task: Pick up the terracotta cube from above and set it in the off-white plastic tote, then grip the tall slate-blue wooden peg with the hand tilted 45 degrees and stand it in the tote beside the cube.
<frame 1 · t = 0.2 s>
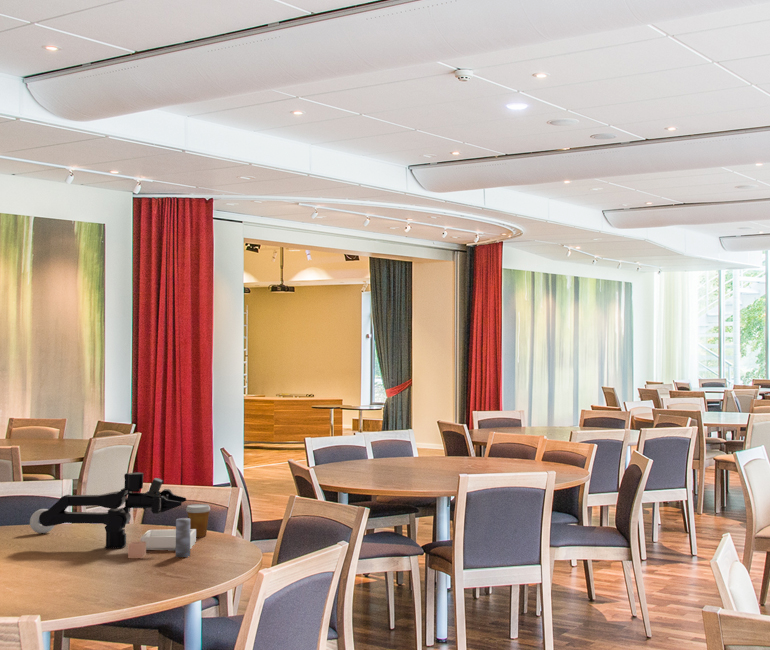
hand: (183, 501, 318), 17 cm above the table, tool horizontal, fingers open, 9 cm apart
tote: (168, 546, 316), on the table
terracotta cube: (137, 557, 299), on the table
disposable coffee cup: (198, 536, 336), on the table
donut: (42, 534, 342), on the table
slate peg: (182, 556, 300), on the table
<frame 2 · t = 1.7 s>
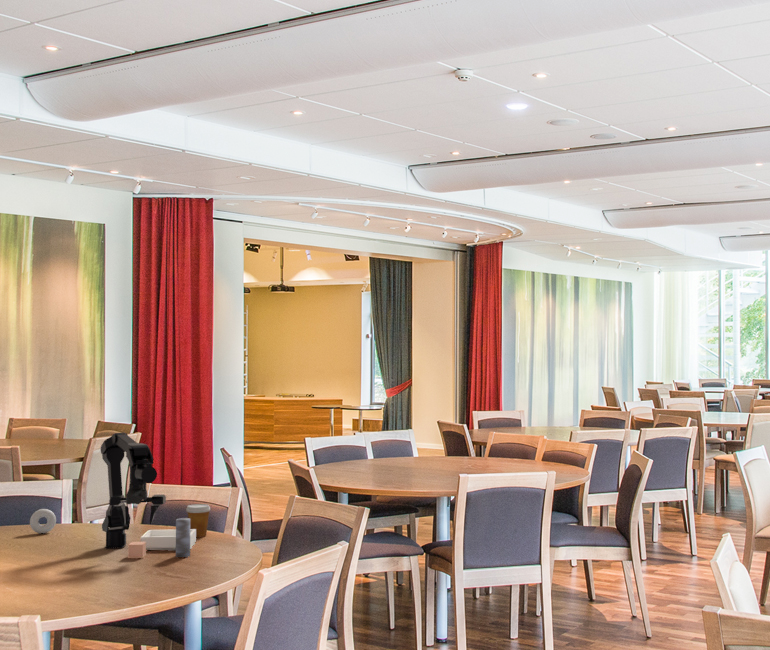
hand: (137, 524, 300), 11 cm above the table, tool pointing down, fingers open, 9 cm apart
nothing on the table moved.
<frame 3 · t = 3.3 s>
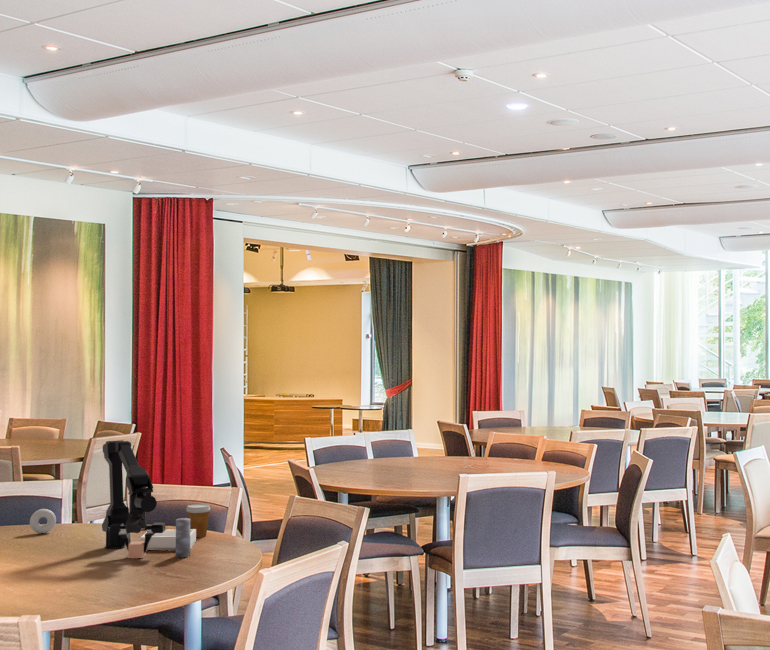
hand: (137, 552, 299), 2 cm above the table, tool pointing down, fingers closed on terracotta cube, 5 cm apart
terracotta cube: (137, 557, 299), on the table, touching gripper
everything else where it was.
when the fingers open (5 cm above the table, at t = 7.1 s): terracotta cube drops 3 cm, resting on tote.
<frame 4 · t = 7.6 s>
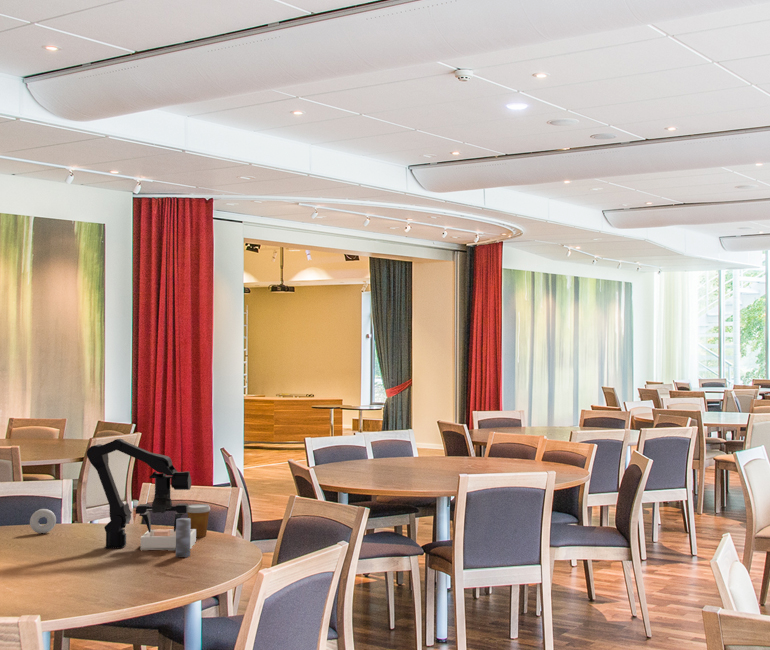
hand: (162, 531, 317), 5 cm above the table, tool pointing down, fingers open, 9 cm apart
terracotta cube: (162, 543, 316), point 1 cm above the table, touching tote
everything else where it was.
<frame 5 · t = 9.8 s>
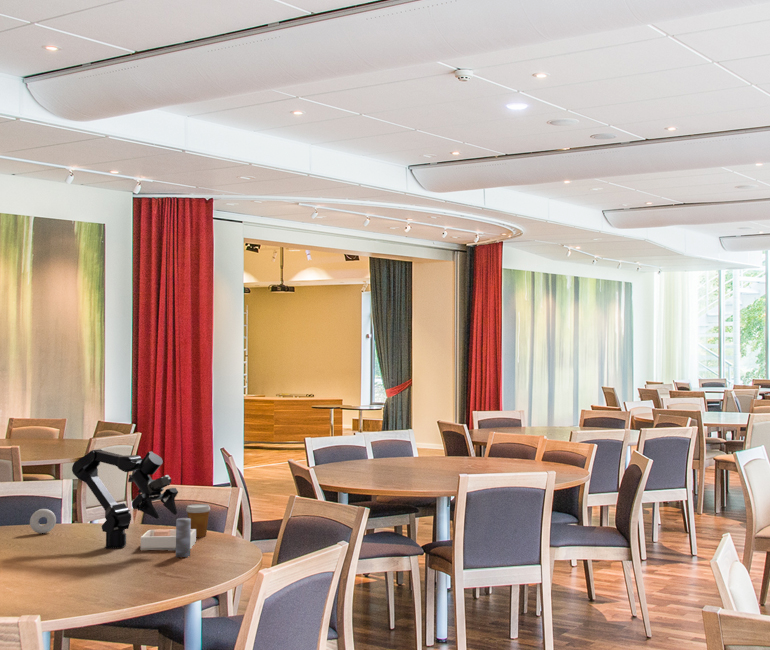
hand: (167, 516, 304), 13 cm above the table, tool tilted 45°, fingers open, 9 cm apart
nothing on the table moved.
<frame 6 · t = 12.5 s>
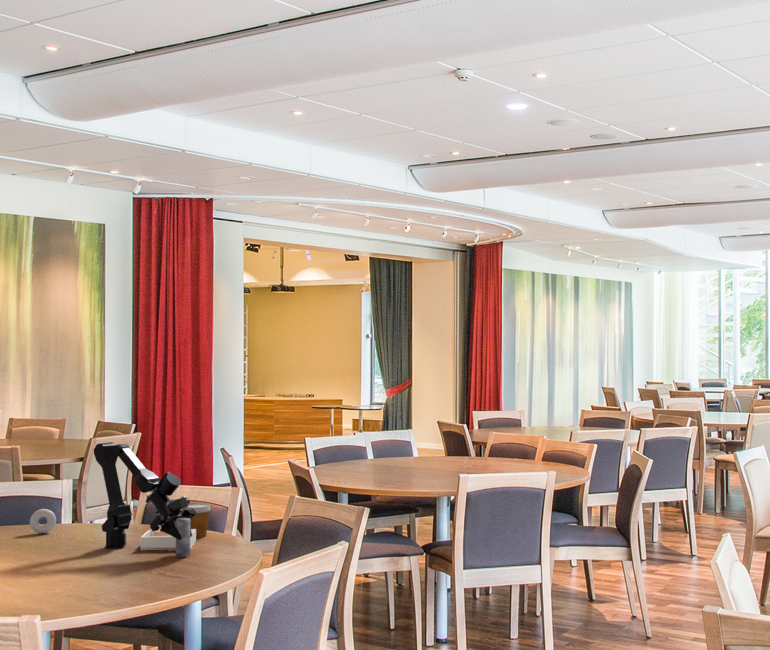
hand: (186, 537, 300), 7 cm above the table, tool tilted 45°, fingers closed on slate peg, 5 cm apart
slate peg: (182, 556, 300), on the table, touching gripper
everything else where it was.
when the fingers open (9 cm above the table, at t = 16.9 s): slate peg drops 2 cm, resting on tote.
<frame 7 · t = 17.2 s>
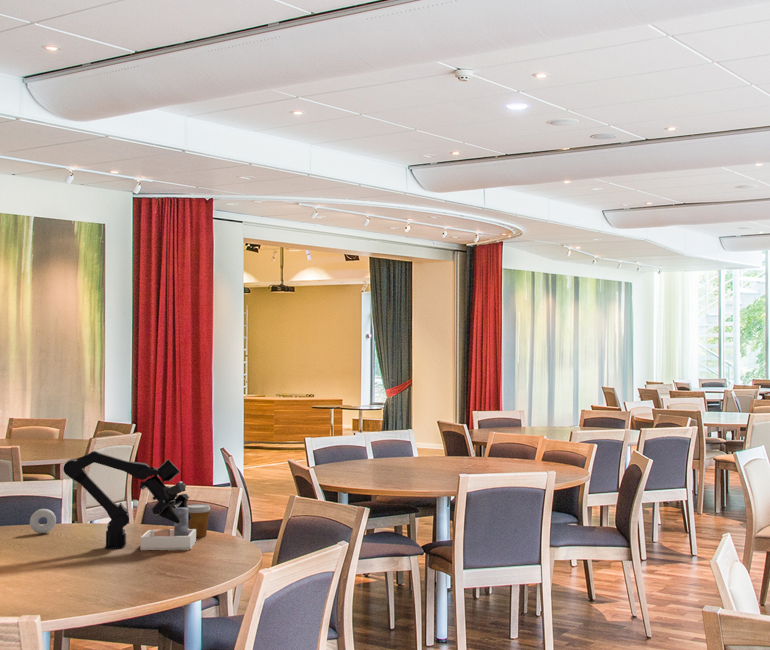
hand: (184, 520, 317), 10 cm above the table, tool tilted 45°, fingers open, 8 cm apart
slate peg: (180, 543, 317), point 1 cm above the table, touching tote
everything else where it was.
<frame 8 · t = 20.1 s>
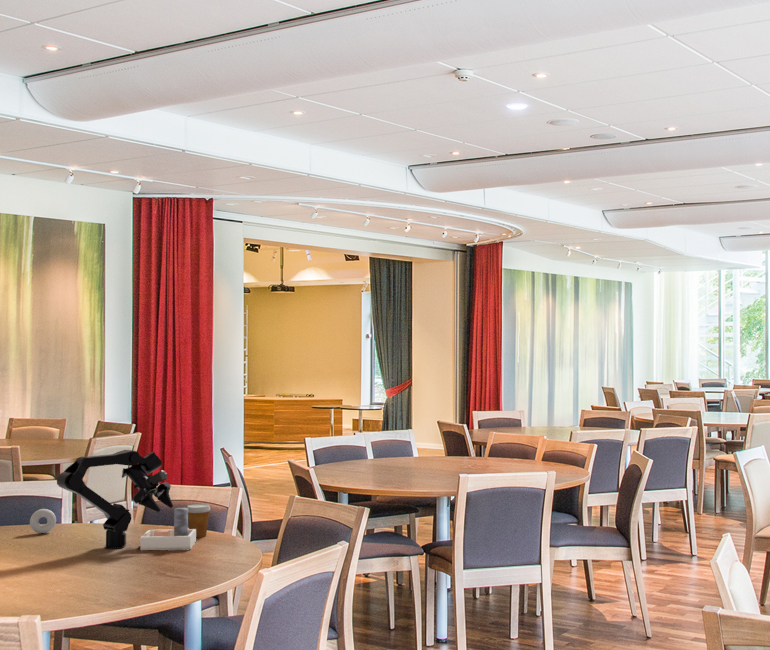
hand: (165, 509, 319), 14 cm above the table, tool tilted 45°, fingers open, 9 cm apart
nothing on the table moved.
at the end: terracotta cube inside the target area on the tote (2.5 cm from its centre), point 1.0 cm above the tote's base; slate peg inside the target area on the tote (4.4 cm from its centre), point 1.0 cm above the tote's base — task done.
